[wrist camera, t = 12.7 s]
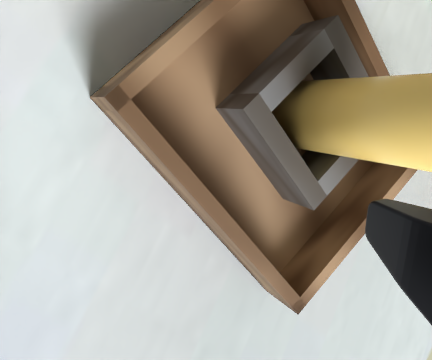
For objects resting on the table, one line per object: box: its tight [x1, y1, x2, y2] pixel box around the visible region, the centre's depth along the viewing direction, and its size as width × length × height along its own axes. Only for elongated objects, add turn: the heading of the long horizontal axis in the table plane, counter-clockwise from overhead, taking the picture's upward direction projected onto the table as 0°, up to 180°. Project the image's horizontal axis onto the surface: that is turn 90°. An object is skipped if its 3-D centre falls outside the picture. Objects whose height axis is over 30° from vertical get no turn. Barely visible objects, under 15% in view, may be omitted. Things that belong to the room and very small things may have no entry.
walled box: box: [90, 0, 418, 314], centre depth 23 cm, size 14×17×4 cm
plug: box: [272, 73, 432, 172], centre depth 19 cm, size 4×4×13 cm
